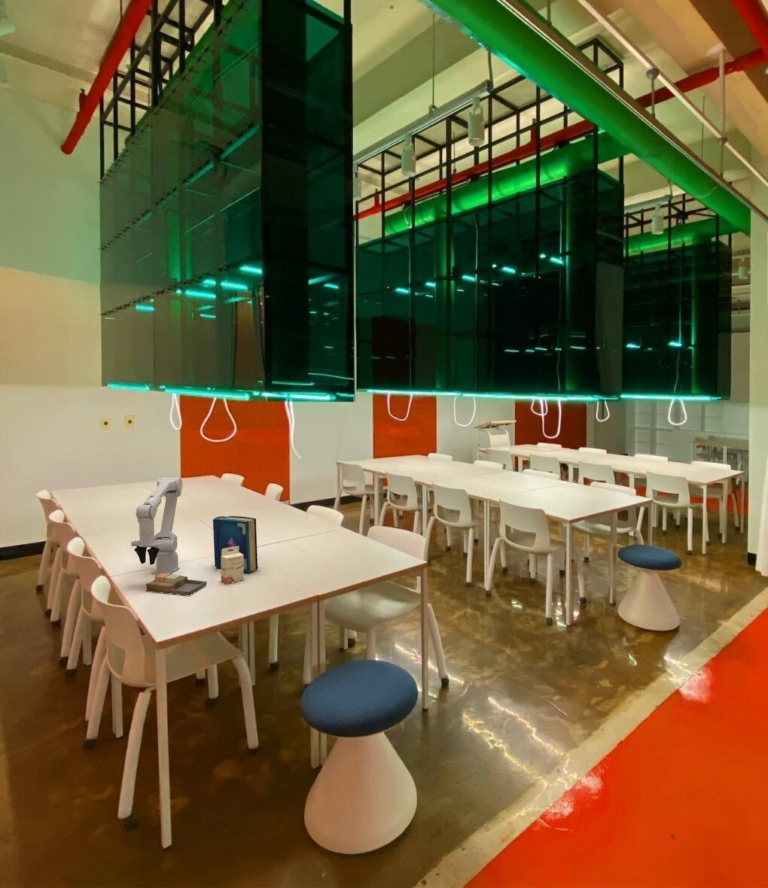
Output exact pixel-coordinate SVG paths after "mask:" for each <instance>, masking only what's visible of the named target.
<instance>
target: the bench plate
mask: <svg viewBox="0 0 768 888" xmlns="http://www.w3.org/2000/svg"><path fill="white" fill-rule="evenodd" d="M187 580H188V576H185V575H181V580H179V581H178V582H176V583H167V582H158V581H155V579H153V580H152V581H150V582H148V583H146V587H145V588H146V592H150V591H154V592H153V593H159V592H163V593H162V594H167V593H170V589H175V590H176V589H178V588H180V587H181V586H183V585H185V584H187Z"/></svg>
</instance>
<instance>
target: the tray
mask: <svg viewBox="0 0 768 888" xmlns="http://www.w3.org/2000/svg"><path fill="white" fill-rule="evenodd" d="M206 585H207V581H206V580H197V579H188V580H187V584H185V585H183V586H181V587H180V588H178V589H176V590H175V589H170V593H172V594H171V595H176V594H180V595H179V596H184V595H190V596H192V595H194V594H195V593H197V592H198V590H199V589H200V590H201V588H202V589H203V588H205V587H207V586H206ZM204 586H205V587H204ZM200 590H199V591H200ZM196 591H197V592H196ZM194 592H195V593H194ZM193 593H194V594H193ZM191 594H192V595H191Z"/></svg>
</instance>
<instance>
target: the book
mask: <svg viewBox="0 0 768 888" xmlns="http://www.w3.org/2000/svg"><path fill="white" fill-rule="evenodd" d="M212 527H213V528H212V529H213V530H212V531H213V532H212V533H213V535H212V536H213V551H214V552H213V553H214V554H213V557H214V568H218V569H221V555H222V549H224V548H230V547H236V546H239V553H241V554H243V556H244V562H243V563H244V574H245V573H248V574H250V573H251V572H254V571H256V570H258V566H259V565H258V541H257V539H258V538H257V536H258V535H257V518H254V517H248V516H238V515H237V516H235V515H228V516H224V515H222V516H221V515H220V516H216V517H214V518H213V519H212ZM228 551H233V549H232V550H231V549H230V550H228Z"/></svg>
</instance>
